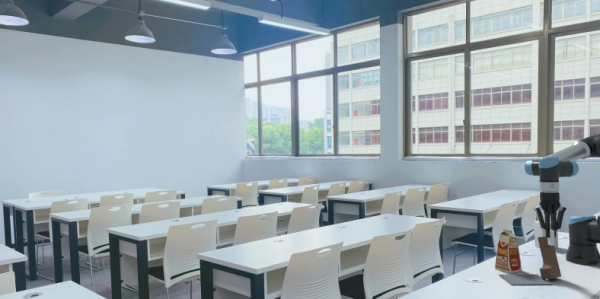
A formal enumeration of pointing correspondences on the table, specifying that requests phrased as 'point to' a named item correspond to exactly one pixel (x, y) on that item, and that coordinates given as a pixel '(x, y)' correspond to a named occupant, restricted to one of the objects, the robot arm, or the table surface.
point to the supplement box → (543, 234)
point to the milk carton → (508, 253)
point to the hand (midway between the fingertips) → (551, 244)
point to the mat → (524, 279)
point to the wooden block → (548, 260)
